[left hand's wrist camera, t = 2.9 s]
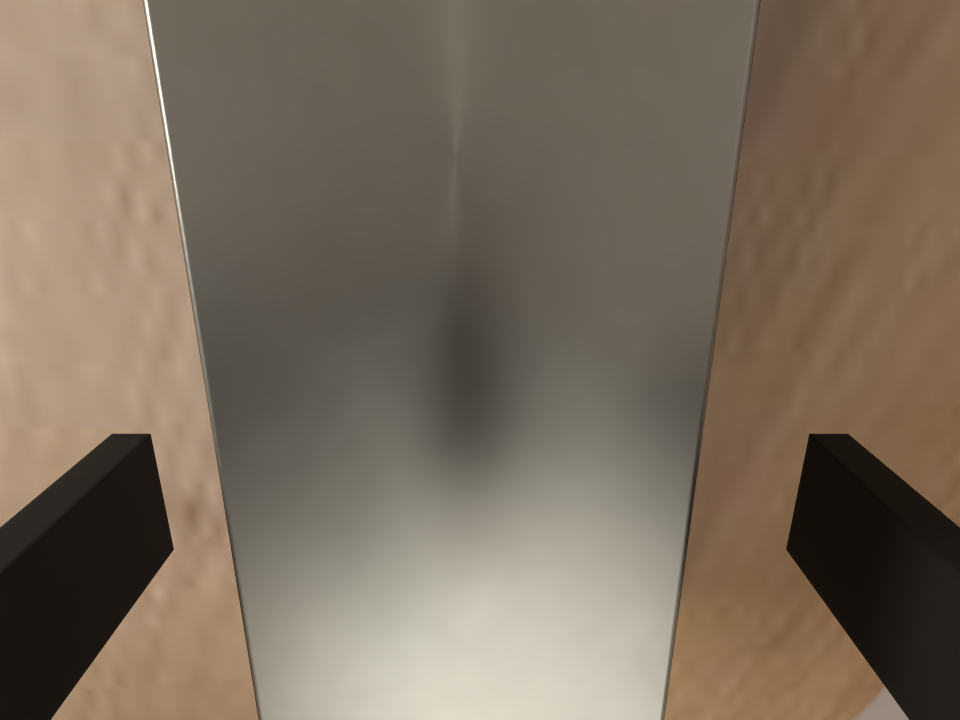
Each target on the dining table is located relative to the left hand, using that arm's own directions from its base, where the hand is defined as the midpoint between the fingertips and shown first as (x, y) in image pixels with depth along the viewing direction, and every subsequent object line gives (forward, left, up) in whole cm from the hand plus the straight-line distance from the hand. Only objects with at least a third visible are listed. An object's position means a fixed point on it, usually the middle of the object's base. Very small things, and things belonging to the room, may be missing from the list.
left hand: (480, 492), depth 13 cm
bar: (+6, +4, -3) cm, 7 cm away
